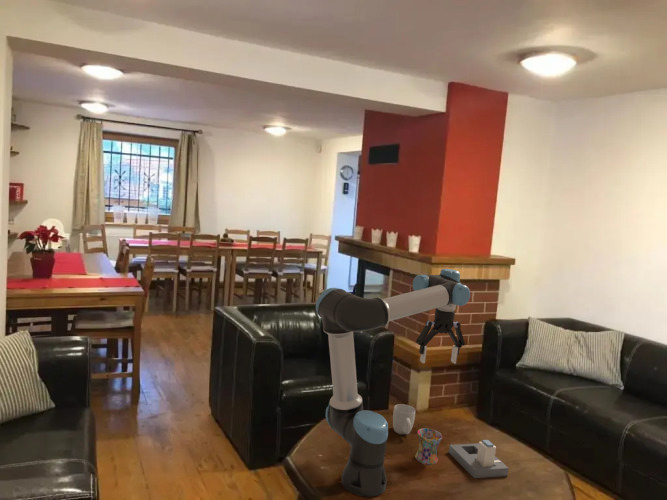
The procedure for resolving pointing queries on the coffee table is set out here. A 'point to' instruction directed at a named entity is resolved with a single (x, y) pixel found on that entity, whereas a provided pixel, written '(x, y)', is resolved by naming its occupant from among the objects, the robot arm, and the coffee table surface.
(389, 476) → the coffee table surface
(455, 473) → the coffee table surface
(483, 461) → the plug
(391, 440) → the coffee table surface
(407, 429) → the mug
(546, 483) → the coffee table surface
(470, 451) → the panel
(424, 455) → the mug
